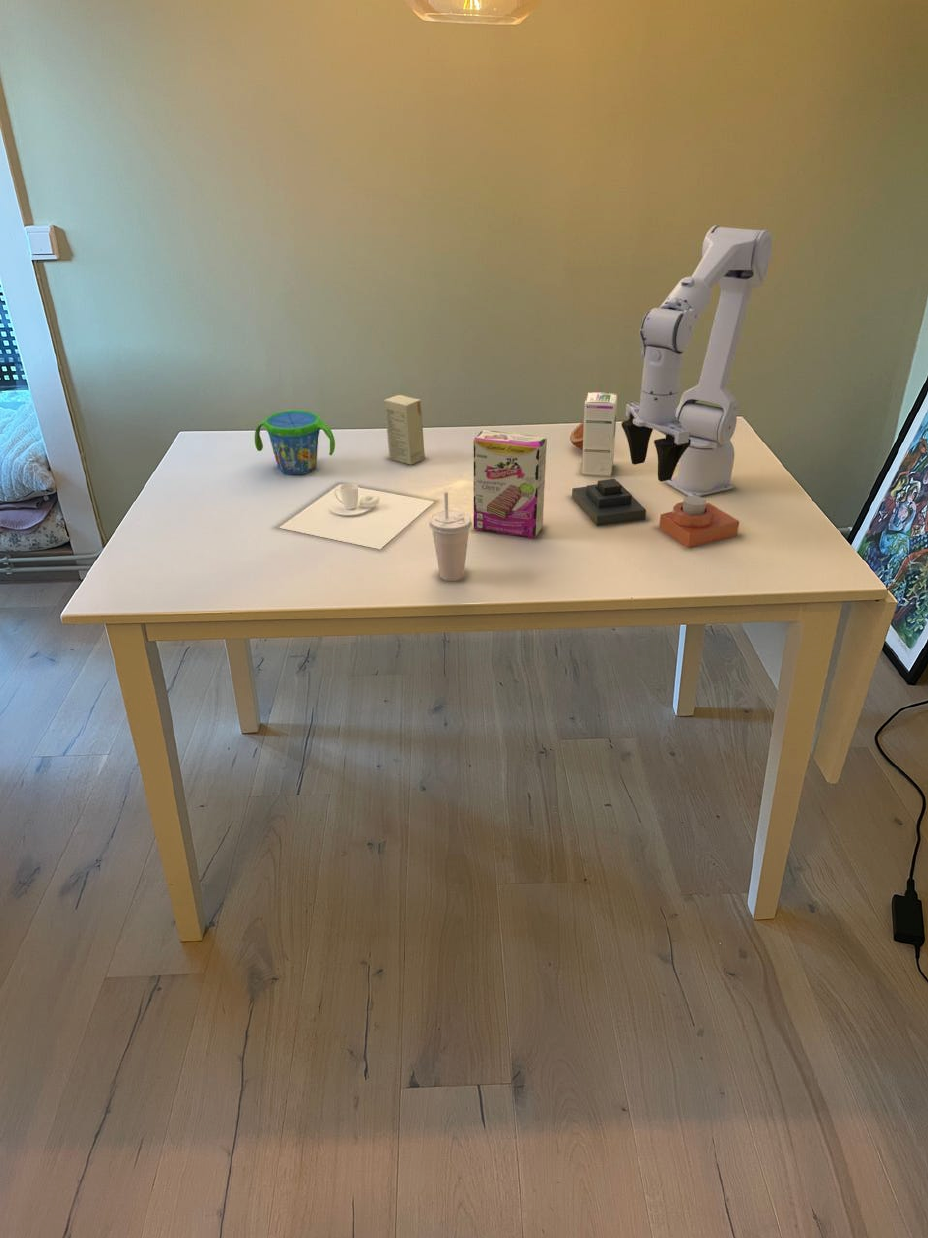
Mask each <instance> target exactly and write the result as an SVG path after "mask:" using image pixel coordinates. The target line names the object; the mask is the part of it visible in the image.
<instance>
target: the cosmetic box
mask: <svg viewBox="0 0 928 1238" xmlns="http://www.w3.org/2000/svg"><path fill="white" fill-rule="evenodd" d="M383 400H384V410H385V412H384V413H385V423H386V435H387V444H388V445H387V446H388V447H387V448H388V456H389V457H388V458H389V459H390V460H393V461H397V462H400V463H403V464H406V465H409V466H410V465H413V464H416V463H418V462H420V461H423V460H424V459H426V457H425V455H426V454H425V443H424V440H425V439H424V425H423V414H422V413H423V410H422V400H421V399H419V398H416V397H410V396H407V395H402V394H397V395H394V396H392V397H389V398H386V399H383Z"/></svg>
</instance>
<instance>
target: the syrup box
mask: <svg viewBox="0 0 928 1238" xmlns="http://www.w3.org/2000/svg"><path fill="white" fill-rule="evenodd" d="M617 404H618V394H617V393H615V392H614V393H613V392H606V391H605V392H602V391H601V392H587V394H586V398H585V401H584V410H583V411H584V414H583V421H584V431H583V449H582V456H581V457H582V459H581V474H582V475H586V476H598V477H599V476H600V477H611V475H612V473H613V467H614V456H615V443H616V442H615V441H616V428H617V427H616V426H617V407H618V405H617Z"/></svg>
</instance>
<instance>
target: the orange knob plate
mask: <svg viewBox="0 0 928 1238" xmlns="http://www.w3.org/2000/svg"><path fill="white" fill-rule="evenodd" d="M683 502H684V501H681V502H677V503H676V504H674V505H673V507H672V510H671V511H669V512H664V513H661V514H660V518H659V527H658V528H659V530H661V531H662V532H663V533H664V534H666V535H668V536H670V537H671V538H672V539H674V540H675V541H677V542H678V543H680V544H681V545H682V546H684V547H685V548H687V549H691V548H694V547H697V546H702V545H706V544H710V543H714V542H717V541H721V540H725V539H730V538H733V537H737V536H738V534H739V533H738V531H739V526H740V520H738V519H736V518H735V517H733V516H732V515H730V514H728V513H726V512H725V511H723V510H721V509H720V508H718V507H716V506H715V505H713V504H712V503H710V502H706V507H705V513H704V514H702V515H690V514H686V513H684V512H683V511H682V509H683Z"/></svg>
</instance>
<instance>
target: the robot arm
mask: <svg viewBox="0 0 928 1238" xmlns="http://www.w3.org/2000/svg"><path fill="white" fill-rule="evenodd" d="M772 253H773V236H772V234H771V232H770V230H768V229H762V230H761V229H752V228H751V229H750V228H749V229H748V228H739V227H729V226H728V227H726V226H720V225H716V224H715V225H713V226H712V227H710V229H709V230H708V231H707V232H706V234H705V236H704V239H703V242H702V248H701V260H700V261H699V263H698V265H697V266H696V268H695V270H694V271H693V273H692V274H691V276H686V277H683V278H681V279H680V280H679V282H678V283H677V284H675V286H674V288H673V289H672V290H671V292H670V293H669V294H668V295H667V296H666V298H665V300H664V301H663V302H662V303H661V304H660V306H659V307H653V308H652V309H651V310H648V311H646V313H645V314H644V316H643V317H642V321H641V324H640V329H639V332H638V341H639V344H640V349H641V350H640V356H641V359H642V360H643V367H642V375H641V376H642V378H641V388H640V396H639V397H640V398H639V403H638V402H631V403H627V404H626V405H625V406H626V407H625V416H626V417H628V419H627V420H623V421H622V422H621V428H622V429H623V431H624V434H625V437H626V440H627V444H628V449H629V455H630V460H631V465H634V466H636V465H639V464H644V463H645V461H646V458H647V454H648V448H649V443H650V440H651V437H652V433H653V431H654V430H655V431H657V432H659V433H660V434H663V435H664V436H665V437H664V438H659V439H654V440H653V444H654V446H655V450H656V456H657V480H658V481H659V482H665V483H666V484H667V485H669V486H670V487H672V488H674V489H675V490H677V491H679V492H680V493H682V494H684V495H685V496H686V497H688V496H699V497H703V496H707V495H711V494H717V493H720V492H725V491H730V490H732V489H733V487H734V486H733V485H732V484H731V481H732V475H733V474H732V473H733V467H734V461H735V448H734V444H733V443H732V441H731V439H732V438H733V435H734V433H735V430H736V427H737V422H738V420H737V419H738V418H737V417H738V410H739V402H738V400H737V398H736V397H735V396H734V395H733V394H732V393H731V392H730V390H729V389H728V384H729V380H730V376H731V373H732V369H733V364H734V361H735V356H736V354H737V353H736V352H737V349H738V347H739V346H738V345H739V342H740V337H741V333H742V330H743V325H744V322H745V318H746V314H747V310H748V307H749V303H750V299H751V296H752V293H753V291H754V289H757V288H759V287H761V286H763V284H764V280H765V278H766V277H767V273H768V270H769V265H770V261H771V258H772ZM717 284H719V288H720V291H721V292H720V294H719V295H720V296H719V300H718V304H717V308H716V312H715V316H714V319H713V324H712V328H711V331H710V336H709V341H708V344H707V348H706V352H705V356H704V360H703V364H702V368H701V372H700V376H699V381H698V383H697V384H696V385H694V386H693V387H690V388H689V389H686V390H685V391H683V393H682V395H681V397H680V400H679V392H680V384H681V383H680V382H681V376H682V375H681V374H682V366H683V359H684V351H686V350H687V349H688V347H689V346H690V343H691V340H692V337H693V333H694V332H695V330H696V327H697V321H698V320H699V318H700V317H701V315H703V313H704V311H705V310H706V309H707V307H708V306H709V304H710V302H711V300H712V293H711V291H712V289H714V287H715V286H716V285H717ZM678 401H679V402H678ZM699 401H700V402H699ZM701 402H706V403H709V404H705V403H701ZM678 403H679V404H678ZM710 403H711V404H716V405H719V406H715V405H711V404H710ZM720 406H721V407H720ZM676 468H677V471H676ZM675 471H676V477H675V478H673V476H674V473H675Z"/></svg>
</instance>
